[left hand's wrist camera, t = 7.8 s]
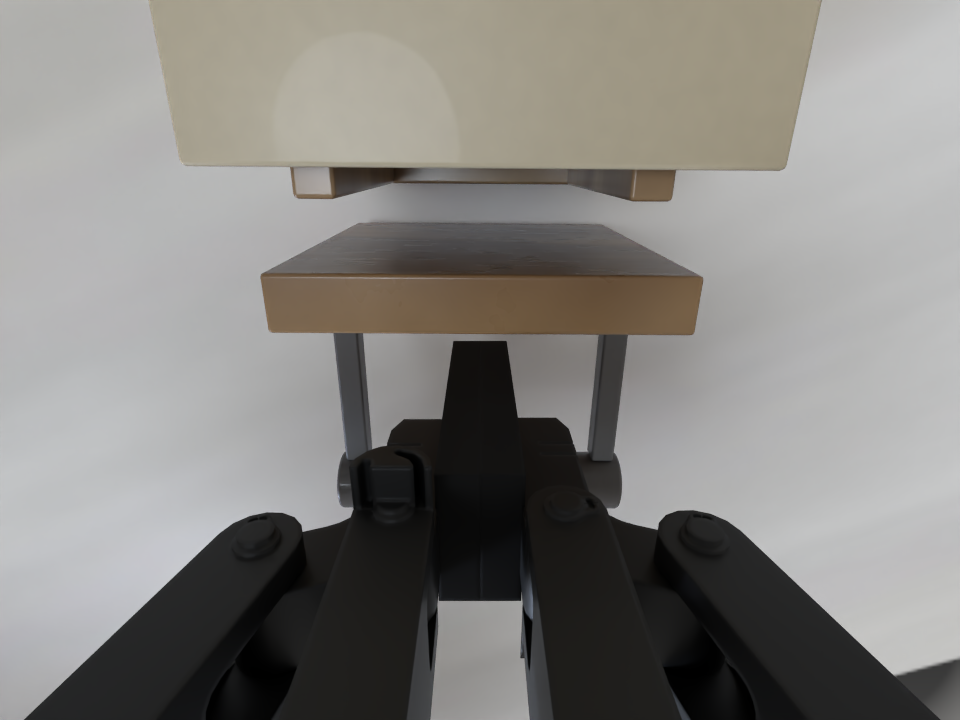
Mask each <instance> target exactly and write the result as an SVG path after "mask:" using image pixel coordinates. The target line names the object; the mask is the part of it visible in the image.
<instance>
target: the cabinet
mask: <svg viewBox="0 0 960 720" xmlns="http://www.w3.org/2000/svg"><path fill="white" fill-rule="evenodd" d="M821 1H822V0H149V5H150V10H151V15H152V21H153V26H154V31H155V36H156V41H157V46H158V51H159V56H160V62H161V67H162V72H163V77H164V82H165V87H166V92H167V97H168V103H169V108H170V113H171V118H172V123H173V128H174V133H175V138H176V144H177V149H178V154H179V159H180V162H181V163H182V164H183V165H186V166H245V167H370V168H494V169H619V170H744V171H780V170H782V169H784V168H785V167H786V165H787V160H788V155H789V151H790V146H791V141H792V137H793V132H794V127H795V123H796V118H797V113H798V109H799V104H800V99H801V95H802V90H803V85H804V81H805V76H806V71H807V67H808V62H809V57H810V53H811V48H812V43H813V39H814V34H815V29H816V25H817V20H818V15H819V11H820V6H821Z"/></svg>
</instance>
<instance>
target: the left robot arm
mask: <svg viewBox="0 0 960 720" xmlns="http://www.w3.org/2000/svg"><path fill="white" fill-rule="evenodd" d="M349 473H350V482H351V491H352V500H353V508H354V510H353V512H352V515H351V518H349V519H347V520H344V521H342V522H340V523H337V524H334V525H331V526H327V527H323V528H319V529H314V530H310V531H305V532H302V526H301V524H300V523H299V522H298V521H297V520H296V519H295V517H292V516H289V515H287V514H284V513H263V514H258V515H253V516H249V517H247V518H245V519H242V520H240V521H238V522H235V523H233V524H232V525H230V526H229V527H228V528H226V529H225V530H224V531H222V532H221V533H220V534H219V535H217V536H216V537H215V538H214V539H213V540H212V541H211V542H210V543H209V544H208V545H207V546H206V547H205V548H204V549H203V550H202V551H201V552H200V553H199V554H198V555H196V556H195V557H194V558H193V559H192V560H191V561H190V562H189V563H188V564H187V565H186V566H185V567H184V568H183V569H182V570H181V571H180V572H179V573H178V574H177V575H175V576H174V577H173V578H172V579H171V580H170V581H169V582H168V583H167V584H166V585H165V586H164V587H163V588H162V589H161V590H160V591H159V592H158V593H157V594H156V595H154V596H153V597H152V598H151V599H150V600H149V601H148V602H147V603H146V604H145V605H144V606H143V607H142V608H141V609H140V610H139V611H138V612H137V613H136V614H135V615H133V616H132V617H131V618H130V619H129V620H128V621H127V622H126V623H125V624H124V625H123V626H122V627H121V628H120V629H119V630H118V631H117V632H116V633H115V634H114V635H112V636H111V637H110V638H109V639H108V640H107V641H106V642H105V643H104V644H103V645H102V646H101V647H100V648H99V649H98V650H97V651H96V652H95V653H94V654H93V655H91V656H90V657H89V658H88V659H87V660H86V661H85V662H84V663H83V664H82V665H81V666H80V667H79V668H78V669H77V670H76V671H75V672H74V673H73V674H72V675H71V676H69V677H68V678H67V679H66V680H65V681H64V682H63V683H62V684H61V685H60V686H59V687H58V688H57V689H56V690H55V691H54V692H53V693H52V694H51V695H50V696H48V697H47V698H46V699H45V700H44V701H43V702H42V703H41V704H40V705H39V706H38V707H37V708H36V709H35V710H34V711H33V712H32V713H31V714H30V715H29V716H27V717H26V718H25V719H24V720H430V716H431V705H432V693H433V681H434V670H435V658H436V646H437V635H438V610H437V603H438V593H439V601H521V590H522V600H523V610H522V634H521V658H525V669H526V681H527V692H528V704H529V715H530V720H940V719H939V718H938V717H937V716H936V715H935V714H934V713H933V712H932V711H931V710H930V709H928V708H927V707H926V706H925V705H924V704H923V703H922V702H921V701H920V700H919V699H918V698H917V697H916V696H915V695H914V694H913V693H912V692H911V691H909V690H908V689H907V688H906V687H905V686H904V685H903V684H902V683H901V682H900V681H899V680H898V679H897V678H896V677H895V676H894V675H893V674H891V673H890V672H889V671H888V670H887V669H886V668H885V667H884V666H883V665H882V664H881V663H880V662H879V661H878V660H877V659H876V658H875V657H874V656H872V655H871V654H870V653H869V652H868V651H867V650H866V649H865V648H864V647H863V646H862V645H861V644H860V643H859V642H858V641H857V640H856V639H854V638H853V637H852V636H851V635H850V634H849V633H848V632H847V631H846V630H845V629H844V628H843V627H842V626H841V625H840V624H839V623H838V622H836V621H835V620H834V619H833V618H832V617H831V616H830V615H829V614H828V613H827V612H826V611H825V610H824V609H823V608H822V607H821V606H820V605H819V604H817V603H816V602H815V601H814V600H813V599H812V598H811V597H810V596H809V595H808V594H807V593H806V592H805V591H804V590H803V589H802V588H801V587H799V586H798V585H797V584H796V583H795V582H794V581H793V580H792V579H791V578H790V577H789V576H788V575H787V574H786V573H785V572H784V571H783V570H781V569H780V568H779V567H778V566H777V565H776V564H775V563H774V562H773V561H772V560H771V559H770V558H769V557H768V556H767V555H766V554H765V553H764V552H762V551H761V550H760V549H759V548H758V547H757V546H756V545H755V544H754V543H753V542H752V541H751V540H750V539H749V538H748V537H747V536H746V535H744V534H743V533H742V532H741V531H740V530H739V529H737V528H736V527H735V526H733V525H732V524H730V523H729V522H728V521H726V520H723V519H721V518H719V517H716V516H714V515H712V514H709V513H704V512H699V511H694V510H689V511H676V512H673V513H670V514H668V515H666V516H665V517H664V518H663V519H662V520H661V521H660V522H659V526H658V530H655V529H651V528H646V527H642V526H637V525H633V524H630V523H626V522H623V521H620V520H618V519H616V518H614V517H612V516H610V515H609V514H608V512H607V509H606V507H605V506H604V504H603V503H602V501H601V500H600V499H599V498H598V497H596V496H595V495H593V494H592V493H591V492H589V489H588V486H587V483H586V480H585V477H584V474H583V471H582V468H581V465H580V462H579V459H578V456H577V455H576V450H575V447H574V444H573V441H572V438H571V435H570V431H569V429H568V428H567V427H566V426H565V425H564V424H563V423H561V422H560V421H559V420H558V419H557V418H518V416H517V409H516V403H515V396H514V389H513V382H512V375H511V369H510V362H509V355H508V348H507V341H453V348H452V355H451V362H450V369H449V376H448V382H447V389H446V396H445V403H444V410H443V416H442V419H404V420H403V421H402V422H401V423H399V424H398V425H397V426H396V427H395V428H394V429H393V430H392V431H391V434H390V437H389V440H388V443H387V446H383V447H379V448H375V449H372V450H369V451H366V452H365V453H363V454H361V455H360V456H358V457H357V458H355V460H354V461H353V462H352V463H351V465H350V466H349Z"/></svg>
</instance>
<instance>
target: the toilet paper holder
mask: <svg viewBox="0 0 960 720" xmlns="http://www.w3.org/2000/svg"><path fill="white" fill-rule="evenodd" d="M290 170H291V178H292V186H293V194H294V196H295V197H296V198H299V199H334V198H338V197H341V196H345V195H349V194H353V193H357V192H360V191H364V190H368V189H372V188H376V187H379V186H383V185H387V184H391V183H453V184H569V185H573V186H577V187H581V188H584V189H588V190H592V191H596V192H600V193H603V194H607V195H611V196H615V197H619V198H622V199H626V200H630V201H670V200H671V199H672V195H673V188H674V181H675V173H676V170H619V169H494V168H370V167H290ZM261 283H262V289H263V296H264V303H265V309H266V316H267V322H268V329H269V331H270V332H273V333H334V341H335V351H336V361H337V370H338V380H339V390H340V399H341V409H342V419H343V428H344V438H345V448H346V452H345V453H344V454H343V456H342V458H341V461H340V465H339V470H338V479H337V491H338V498H339V502H340V505H341V506H343V507H353V500H352V491H351V482H350V473H349V466H350V465H351V463H352V462H353V461H354V460H355V458H357V457H358V456H360V455H361V454H363V453H365V452H366V451H369V450H372V440H371V428H370V415H369V403H368V391H367V379H366V366H365V354H364V342H363V333H418V334H583V335H599V337H598V348H597V358H596V368H595V378H594V388H593V398H592V408H591V418H590V429H589V439H588V449H587V450H588V452H576V455H577V456H578V459H579V462H580V465H581V468H582V471H583V474H584V477H585V480H586V483H587V486H588V489H589V492H591V493H592V494H593V495H595V496H596V497H598V498H599V499H600V500H601V501H602V503H603V504H604V506H605V507H606V508H616V507H618V505H619V503H620V500H621V494H622V476H621V469H620V465H619V461H618V458H617V456H616V455H615V454H614V445H615V437H616V429H617V420H618V412H619V404H620V396H621V387H622V379H623V371H624V363H625V354H626V346H627V338H628V335H692V334H694V331H695V325H696V319H697V313H698V308H699V302H700V296H701V290H702V284H703V277H701V276H700V275H698V274H696V273H694V272H692V271H690V270H688V269H686V268H684V267H682V266H680V265H678V264H676V263H674V262H673V261H671V260H669V259H667V258H665V257H663V256H661V255H659V254H657V253H655V252H653V251H651V250H649V249H648V248H646V247H644V246H642V245H640V244H638V243H636V242H634V241H632V240H630V239H628V238H626V237H624V236H622V235H621V234H619V233H617V232H615V231H613V230H611V229H609V228H607V227H605V226H603V225H569V224H433V223H358V224H356V225H354V226H352V227H350V228H348V229H346V230H345V231H343V232H341V233H339V234H337V235H335V236H333V237H331V238H329V239H327V240H325V241H324V242H322V243H320V244H318V245H316V246H314V247H312V248H310V249H308V250H306V251H304V252H303V253H301V254H299V255H297V256H295V257H293V258H291V259H289V260H287V261H285V262H283V263H282V264H280V265H278V266H276V267H274V268H272V269H270V270H268V271H266V272H264V273H262V274H261Z"/></svg>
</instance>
